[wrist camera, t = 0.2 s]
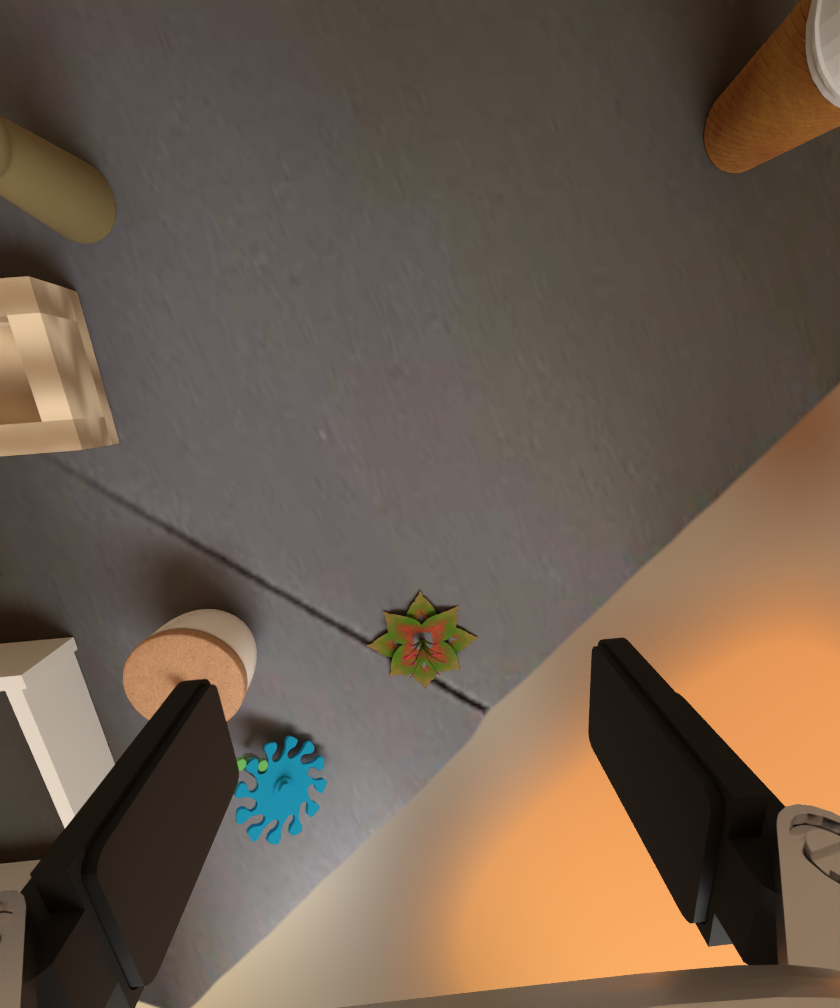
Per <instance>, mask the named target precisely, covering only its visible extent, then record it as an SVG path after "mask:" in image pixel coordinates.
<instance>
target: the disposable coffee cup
mask: <svg viewBox="0 0 840 1008" xmlns="http://www.w3.org/2000/svg"><path fill="white" fill-rule="evenodd" d="M838 126H840V0H801V1H800V2H799V3H798V4H797V5H796V6H795V8H794V9H793V10H792V11H791V12H790V14H789V15H788V16H787V17H786V18H785V19H784V21H783V22H782V23H781V24H780V25H779V27H778V28H777V29H776V30H775V31H774V32H773V34H772V35H771V36H770V37H769V39H768V40H767V41H766V42H765V43H764V44H763V46H762V47H761V49H759V50H758V51H757V52H756V54H755V55H754V57H752V58H751V60H750V61H749V62H748V63H747V64H746V65H745V67H744V68H743V69H742V70H741V72H740V73H739V74H738V75H737V76H736V78H735V79H734V80H733V81H732V82H731V83H730V85H729V86H728V87H727V88H726V89H725V90H724V92H723V93H722V94H721V95H720V96H719V97H718V99H717V100H716V101H715V103H714V104H713V106H712V108H711V109H710V112H709V115H708V117H707V120H706V125H705V131H704V141H705V148H706V151H707V154H708V156H709V158H710V160H711V161H712V162H713V164H714V165H715V166H716V167H718V168H719V169H720V170H723V171H725V172H728V173H741V172H744V171H747V170H749V169H751V168H753V167H755V166H757V165H759V164H761V163H764V162H766V161H768V160H770V159H772V158H774V157H776V156H778V155H780V154H782V153H784V152H786V151H789V150H791V149H793V148H795V147H797V146H799V145H801V144H803V143H805V142H807V141H809V140H811V139H813V138H815V137H817V136H819V135H821V134H823V133H825V132H827V131H830V130H832V129H834V128H836V127H838Z"/></svg>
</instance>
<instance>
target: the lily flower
mask: <svg viewBox="0 0 840 1008" xmlns="http://www.w3.org/2000/svg"><path fill="white" fill-rule="evenodd" d="M422 596H423V595H422V593H421V591H420V592H419V595H418V596H417V598H416V599H415V602H413V603H412V605H411V606H410V608H409V610H408V612H407V614H406V617H405V616H401V615H396V614H388V613H386V612H384V611H383V613H384V615H385V619H386V622H387V629H388V633H386V634H384V635H383V636H381V637H380V638H378V639H377V640H375V641H374V642H373V643H372V644H369V645H367V646H368V647H371V648H372V649H374V650H377V651H378V653H380V654H382V655H384V656H387V657H393V658H392V662H391V671H392V672H391V673H390V675H389V676H391V675H399V674H401V675H409V674H412V675H413V677H414V678H415V679H416V680H417V681H418V682H419V683H422V684H423V686H424V687H425V689H426V687H427V685H428V684H429V683H430V680H433V679H434V677H435V676H436V674H437V673H438V671H449V670H453V669H460V668H459V664H458V663H457V661H458V659H457V656H456V652H459V651H461V650H463V649H464V648H466V647H467V646H468V645H469V644H471V642H472V641H473V640H476V639H477V638H478V637H475V636H473V635H471V634H468V632H466V631H464V630H461V629H459V628H456V623H457V614H456V611H457V610H458V606H457V607H455V608H453V609H450V610H448V611H445V612H443V613H440V614H437V613H436V611H435V609H434V608H433V606H432V605H431V604H430V603H429V601H428V600H427V599H426V598H424V597H422ZM421 613H422V615H423V616H424V617H425V619H426V621H425V622H424V623H423V624H422V625H421V624H420V623H419V622H418V621H417V620H418V618H419V616H420V615H421ZM421 632H432V638H433V648H430V649H429V648H428V647H427V645H426V643H425V642H427V643H428V644H432V643H430V642H428V641H426V640H425V639H424V640H423V641H422V640H421V639H420V641H419V642H417V643H416V644H414V645H413V634H414V633H421ZM451 636H452V637H455V638H459V639H455V640H453V641H452V642H450V643H448V644H447V643H446V642H444V641H445V640H447V639H449V638H450V637H451ZM394 641H395V642H397V643H400V644H403V645H402V646H397V645H395V644H394V643H393V642H394ZM420 643H421V646H420V650H416V648H417V647H418V646H419V645H420ZM415 645H417V646H416V647H415V649H414V646H415ZM422 647H423V648H422ZM424 661H425V662H426V664H427V666H426V667H424V668H425V671H424V669H423V666H421V665H422V664H423V662H424ZM424 666H425V665H424ZM438 674H439V673H438ZM412 675H411V676H412ZM439 675H440V674H439ZM411 676H410V678H411Z"/></svg>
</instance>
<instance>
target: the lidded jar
mask: <svg viewBox="0 0 840 1008" xmlns="http://www.w3.org/2000/svg"><path fill="white" fill-rule="evenodd" d="M256 661H257V649H256V643H255V639H254V637H253V635H252V633H251V631H250V629H249V628H248V626H247V625H246V624H245V623H244V622H243V621H242V620H241V619H239V618H238V617H236V616H235V615H233V614H231V613H228V612H225V611H222V610H216V609H201V610H195V611H191V612H188V613H184V614H182V615H180V616H178V617H176V618H174V619H172V620H171V621H169V622H168V623H166V624H165V625H163V626H162V627H160V628H159V629H158V630H156V631H155V632H154V633H153V634H152V635H151V636H150V637H148V638H147V639H145V640H144V641H143V642H142V643H140V644H139V645H138V646H137V647H136V648H135V649H134V650H133V651H132V653H131V654H130V655H129V657H128V659H127V661H126V663H125V666H124V671H123V684H124V689H125V692H126V695H127V697H128V699H129V700H130V702H131V704H132V705H133V706H134V707H135V709H136V710H137V711H138V712H139V713H140V714H141V715H143V716H144V717H145V718H147V719H148V720H150V719H151V718H152V716H153V715H154V714H155V712H156V711H157V710H158V709H159V707H160V706H161V705H162V703H163V702H164V701H165V700H166V698H167V697H168V696H169V694H170V693H171V692H172V691H173V689H174V688H175V687H176V685H177V684H178V683H179V682H182V681H187V680H197V679H208V680H209V681H210V683H211V684H214V685H216V686H217V689H218V693H219V696H220V700H221V704H222V708H223V711H224V715H225V719H226V722H227V721H228V720H229V719H230V718H231V717H233V716H234V714H235V713H236V712H237V711H238V709H239V707H240V705H241V704H242V702H243V700H244V698H245V695H246V691H247V689H248V687H249V685H250V683H251V680H252V677H253V674H254V671H255V667H256Z"/></svg>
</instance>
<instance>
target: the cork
mask: <svg viewBox="0 0 840 1008" xmlns="http://www.w3.org/2000/svg"><path fill="white" fill-rule="evenodd" d="M0 195H1V196H2V197H4V198H5V199H7V200H9V201H10V202H12V203H13V204H15V205H16V206H18V207H19V208H21V209H22V210H24V211H25V212H27V213H28V214H30V215H31V216H33V217H34V218H36V219H38V220H39V221H41V222H42V223H44V224H45V225H47V226H48V227H50V228H51V229H53V230H54V231H56V232H57V233H59V234H61V235H62V236H64V237H66V238H67V239H69V240H70V241H74V242H78V243H81V244H87V243H95V242H97V241H99V240H101V239H103V238H105V237H106V235H107V234H108V233H109V232H110V231H111V230H112V227H113V224H114V222H115V219H116V204H115V200H114V196H113V192H112V190H111V188H110V186H109V185H108V183H107V181H106V179H105V178H104V177H103V176H102V175H101V174H100V173H99V171H98V170H97V169H96V168H94V167H93V166H91V165H89V164H88V163H86V162H85V161H83V160H81V159H79V158H78V157H76V156H74V155H72V154H70V153H68V152H66V151H65V150H63V149H61V148H59V147H57V146H55V145H54V144H52V143H50V142H48V141H46V140H44V139H42V138H41V137H39V136H37V135H35V134H33V133H31V132H30V131H28V130H26V129H24V128H22V127H20V126H18V125H17V124H15V123H13V122H11V121H9V120H7V119H6V118H4V117H2V116H0Z"/></svg>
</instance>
